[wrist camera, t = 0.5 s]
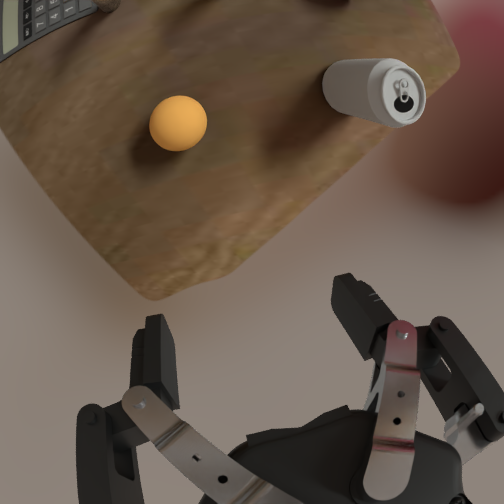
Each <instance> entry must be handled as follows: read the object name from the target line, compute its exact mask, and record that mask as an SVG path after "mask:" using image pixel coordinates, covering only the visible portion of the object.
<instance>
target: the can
mask: <svg viewBox="0 0 504 504" xmlns="http://www.w3.org/2000/svg"><path fill="white" fill-rule="evenodd" d="M322 86H323V93H324V96H325V98H326V100H327V102H328V103H329V104H330V106H331V107H332V108H334V109H335V110H336V111H338V112H340V113H343V114H347V115H351V116H355V117H359V118H362V119H366V120H369V121H373V122H376V123H380V124H383V125H386V126H390V127H402V126H405V125H407V124H411V123H413V122H415V121H416V120H417V119H418V118H419V117H420V116H421V114H422V112H423V110H424V107H425V102H426V92H425V88H424V84H423V82H422V80H421V78H420V76H419V75H418V74H417V73H416V72H415V70H413V69H412V68H410V67H408V66H407V65H406V64H404V63H403V62H401V61H399V60H396V59H389V58H385V59H353V60H341V61H338V62H335V63H333V64H332V65H331V66H329V67H328V69H327V70H326V72H325V74H324V77H323V82H322Z"/></svg>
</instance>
